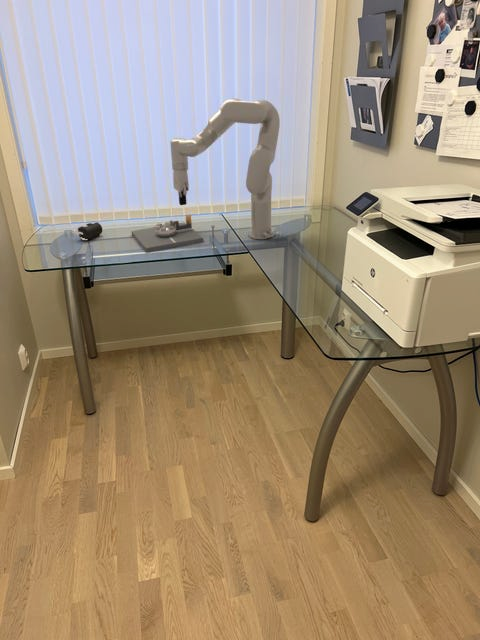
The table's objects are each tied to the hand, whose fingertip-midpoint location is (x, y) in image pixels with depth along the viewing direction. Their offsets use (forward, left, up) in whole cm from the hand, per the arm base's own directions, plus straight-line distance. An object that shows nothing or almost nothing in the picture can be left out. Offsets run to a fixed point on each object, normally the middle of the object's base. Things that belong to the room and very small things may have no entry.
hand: (182, 204), depth 232 cm
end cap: (+15, +45, -14) cm, 49 cm away
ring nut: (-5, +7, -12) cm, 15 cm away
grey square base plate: (-5, +12, -14) cm, 19 cm away
